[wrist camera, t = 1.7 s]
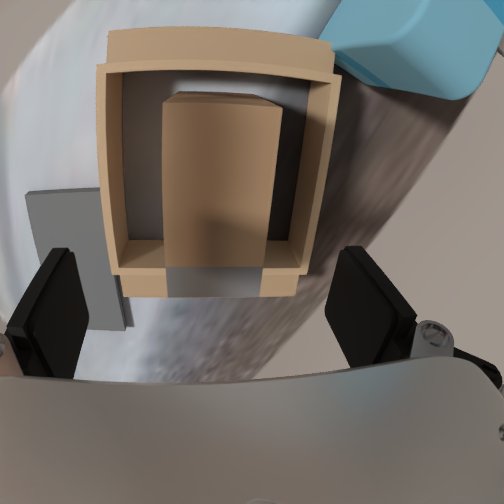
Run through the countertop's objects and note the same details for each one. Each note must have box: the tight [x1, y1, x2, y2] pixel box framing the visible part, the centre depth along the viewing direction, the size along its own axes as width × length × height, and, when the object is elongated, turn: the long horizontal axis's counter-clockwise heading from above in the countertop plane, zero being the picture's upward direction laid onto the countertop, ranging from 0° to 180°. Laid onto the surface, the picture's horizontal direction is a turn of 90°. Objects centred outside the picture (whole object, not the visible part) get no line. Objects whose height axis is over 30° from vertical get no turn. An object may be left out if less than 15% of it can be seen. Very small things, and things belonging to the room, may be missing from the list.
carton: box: [96, 27, 342, 298], centre depth 21 cm, size 14×18×4 cm
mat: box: [25, 188, 126, 331], centre depth 25 cm, size 7×14×1 cm, turn 175°
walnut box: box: [162, 91, 283, 297], centre depth 19 cm, size 5×10×9 cm, turn 175°
